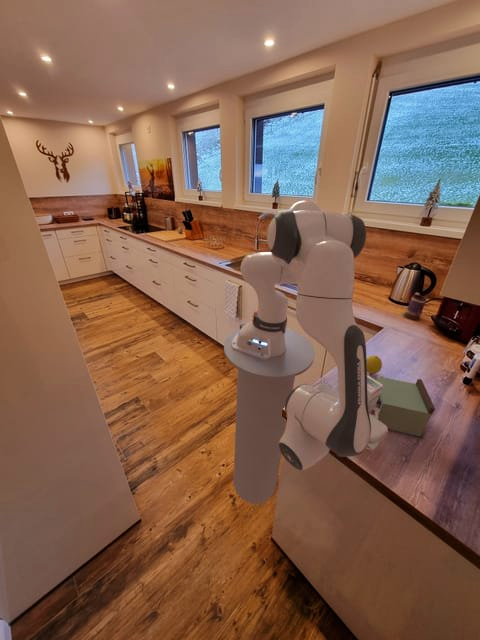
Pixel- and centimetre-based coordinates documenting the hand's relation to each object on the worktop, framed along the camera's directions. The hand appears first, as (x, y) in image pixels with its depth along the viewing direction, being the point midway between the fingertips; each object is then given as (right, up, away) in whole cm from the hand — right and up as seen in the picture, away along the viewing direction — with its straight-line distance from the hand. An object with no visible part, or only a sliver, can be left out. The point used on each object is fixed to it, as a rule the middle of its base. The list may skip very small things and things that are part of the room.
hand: (361, 399), depth 74 cm
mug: (+57, +25, +66) cm, 91 cm away
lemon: (+14, +3, +23) cm, 27 cm away
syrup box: (0, -7, +4) cm, 8 cm away
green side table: (+12, -7, +6) cm, 15 cm away
